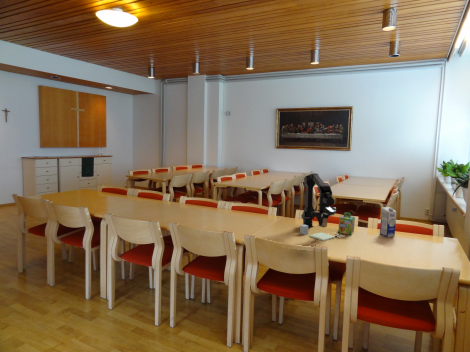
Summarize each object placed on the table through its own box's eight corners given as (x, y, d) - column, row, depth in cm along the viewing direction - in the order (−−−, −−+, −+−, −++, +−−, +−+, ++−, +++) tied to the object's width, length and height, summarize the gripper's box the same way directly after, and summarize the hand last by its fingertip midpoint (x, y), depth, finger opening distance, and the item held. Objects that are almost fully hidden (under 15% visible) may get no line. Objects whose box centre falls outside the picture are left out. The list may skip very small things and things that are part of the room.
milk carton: (387, 233, 237) (389, 206, 234) (394, 236, 231) (396, 208, 228) (379, 234, 234) (381, 207, 232) (387, 237, 228) (389, 209, 225)
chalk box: (338, 233, 237) (338, 213, 235) (341, 230, 245) (342, 210, 243) (351, 235, 232) (352, 214, 230) (354, 232, 240) (355, 212, 238)
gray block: (300, 233, 236) (300, 225, 235) (303, 232, 238) (304, 224, 238) (304, 234, 233) (304, 226, 232) (308, 233, 235) (308, 225, 235)
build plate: (309, 236, 229) (309, 235, 229) (321, 233, 236) (321, 232, 236) (323, 241, 219) (323, 239, 219) (334, 237, 226) (335, 236, 226)
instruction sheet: (327, 234, 234) (327, 234, 234) (333, 232, 238) (334, 232, 238) (339, 237, 226) (339, 237, 226) (345, 236, 230) (345, 235, 230)
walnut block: (318, 226, 227) (318, 217, 226) (322, 225, 229) (322, 216, 229) (323, 227, 224) (323, 218, 223) (326, 226, 226) (327, 218, 225)
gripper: (324, 206, 213) (323, 230, 215) (342, 203, 224) (341, 225, 226) (311, 203, 222) (310, 226, 224) (328, 200, 232) (327, 221, 235)
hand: (322, 224), depth 227 cm, fingers closed on walnut block, 4 cm apart
